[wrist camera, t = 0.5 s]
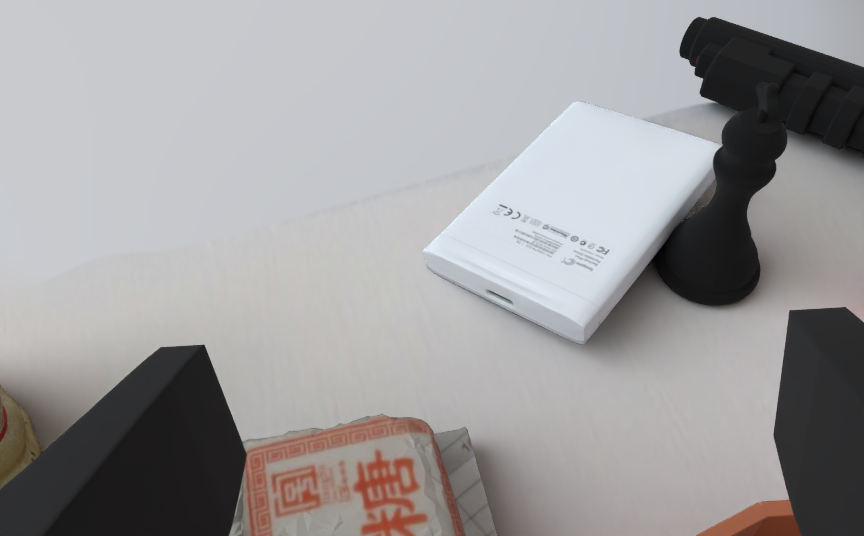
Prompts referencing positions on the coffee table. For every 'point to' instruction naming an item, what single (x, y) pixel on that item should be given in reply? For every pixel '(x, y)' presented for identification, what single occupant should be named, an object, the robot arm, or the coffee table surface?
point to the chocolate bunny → (15, 439)
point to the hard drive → (575, 218)
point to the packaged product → (363, 482)
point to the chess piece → (727, 211)
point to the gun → (778, 79)
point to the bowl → (759, 521)
